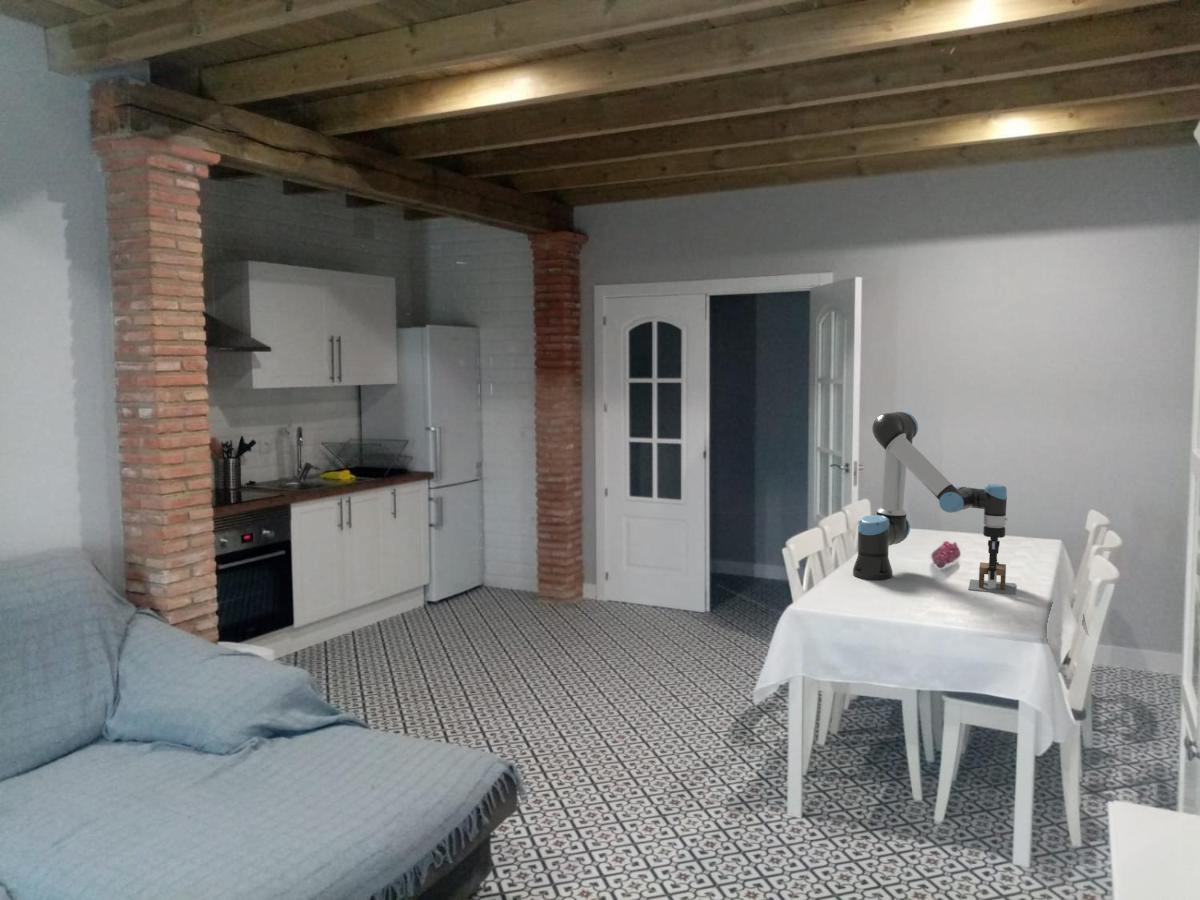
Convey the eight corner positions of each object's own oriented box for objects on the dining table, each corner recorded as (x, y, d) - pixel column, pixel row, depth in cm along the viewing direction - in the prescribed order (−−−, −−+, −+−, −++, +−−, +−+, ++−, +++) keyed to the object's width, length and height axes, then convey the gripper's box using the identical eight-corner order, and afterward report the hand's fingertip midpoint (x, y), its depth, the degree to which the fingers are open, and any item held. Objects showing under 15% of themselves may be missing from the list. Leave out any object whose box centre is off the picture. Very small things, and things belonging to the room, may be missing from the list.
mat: (968, 590, 341) (968, 588, 341) (970, 580, 356) (970, 579, 356) (1015, 594, 335) (1015, 593, 335) (1015, 584, 349) (1015, 583, 349)
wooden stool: (978, 586, 343) (979, 567, 342) (979, 581, 351) (980, 562, 350) (1004, 589, 339) (1005, 569, 339) (1005, 583, 347) (1006, 564, 347)
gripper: (1005, 531, 331) (1002, 592, 334) (1005, 521, 351) (1003, 579, 353) (982, 530, 335) (980, 590, 337) (984, 520, 354) (982, 577, 357)
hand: (992, 584), depth 345 cm, fingers closed on wooden stool, 9 cm apart
